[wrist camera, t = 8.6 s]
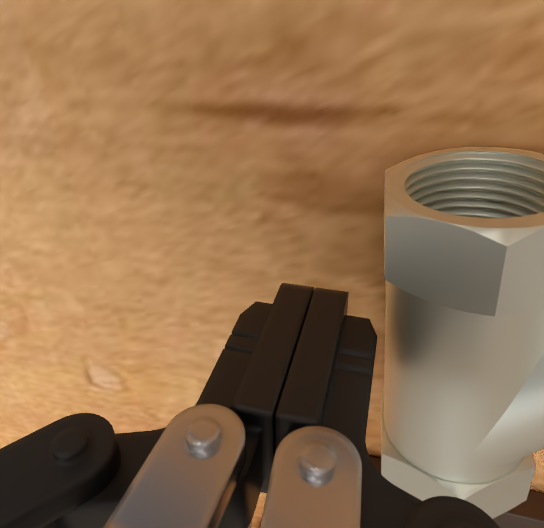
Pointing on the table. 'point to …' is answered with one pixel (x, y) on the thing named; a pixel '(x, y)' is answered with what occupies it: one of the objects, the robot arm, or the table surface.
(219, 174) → the table surface
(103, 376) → the table surface
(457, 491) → the pipe fitting
